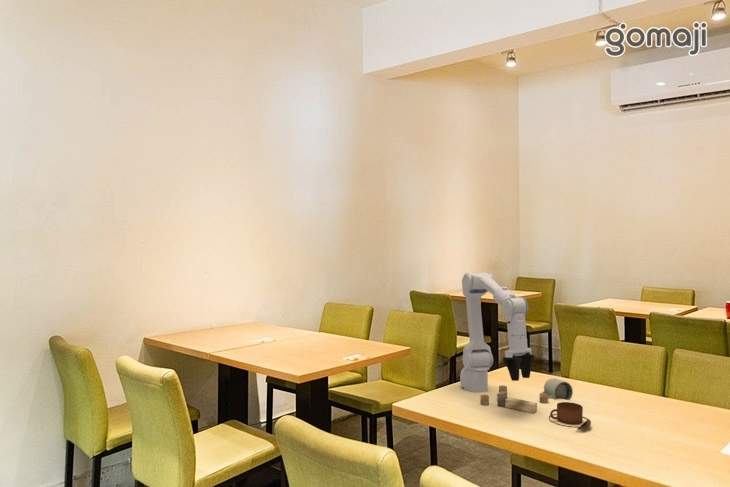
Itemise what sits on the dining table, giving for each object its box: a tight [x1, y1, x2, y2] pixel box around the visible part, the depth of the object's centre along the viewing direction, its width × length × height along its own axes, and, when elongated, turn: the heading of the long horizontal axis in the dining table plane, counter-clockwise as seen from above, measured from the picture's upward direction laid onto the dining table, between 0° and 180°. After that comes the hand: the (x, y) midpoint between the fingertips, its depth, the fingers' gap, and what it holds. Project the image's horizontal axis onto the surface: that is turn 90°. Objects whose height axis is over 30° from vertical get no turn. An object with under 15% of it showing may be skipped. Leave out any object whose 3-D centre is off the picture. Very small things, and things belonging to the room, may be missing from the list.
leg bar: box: [497, 395, 538, 414], centre depth 175 cm, size 13×3×3 cm, turn 52°
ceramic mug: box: [541, 378, 574, 401], centre depth 190 cm, size 10×8×7 cm
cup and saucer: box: [548, 401, 592, 431], centre depth 164 cm, size 12×12×6 cm
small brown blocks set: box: [479, 384, 549, 407], centre depth 181 cm, size 18×18×4 cm
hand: (520, 379), depth 171 cm, fingers open, 7 cm apart
